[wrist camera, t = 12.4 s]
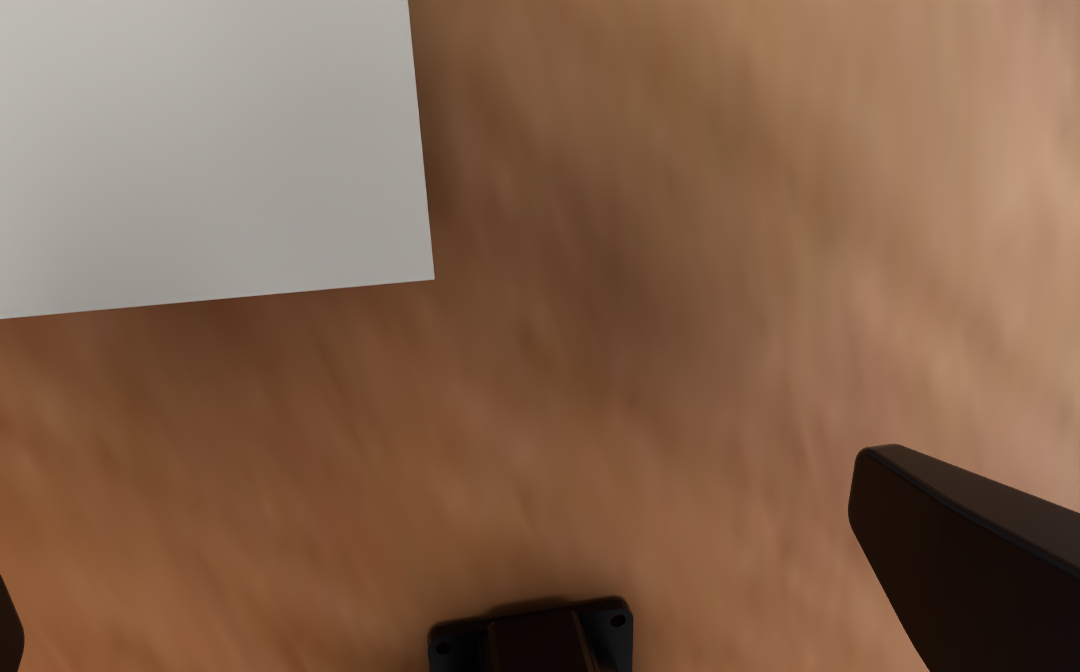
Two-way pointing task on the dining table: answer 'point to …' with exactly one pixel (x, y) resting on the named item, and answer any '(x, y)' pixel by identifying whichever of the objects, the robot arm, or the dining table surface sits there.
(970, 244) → the dining table surface
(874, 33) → the dining table surface
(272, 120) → the socket block
